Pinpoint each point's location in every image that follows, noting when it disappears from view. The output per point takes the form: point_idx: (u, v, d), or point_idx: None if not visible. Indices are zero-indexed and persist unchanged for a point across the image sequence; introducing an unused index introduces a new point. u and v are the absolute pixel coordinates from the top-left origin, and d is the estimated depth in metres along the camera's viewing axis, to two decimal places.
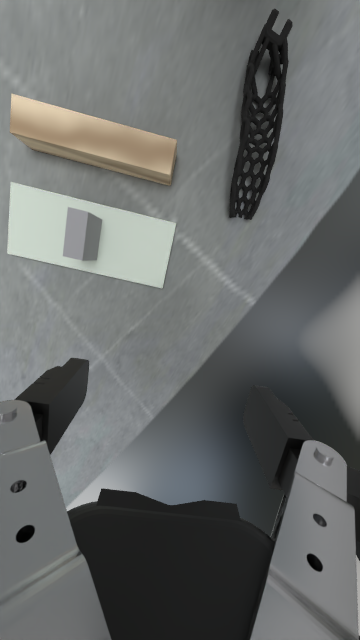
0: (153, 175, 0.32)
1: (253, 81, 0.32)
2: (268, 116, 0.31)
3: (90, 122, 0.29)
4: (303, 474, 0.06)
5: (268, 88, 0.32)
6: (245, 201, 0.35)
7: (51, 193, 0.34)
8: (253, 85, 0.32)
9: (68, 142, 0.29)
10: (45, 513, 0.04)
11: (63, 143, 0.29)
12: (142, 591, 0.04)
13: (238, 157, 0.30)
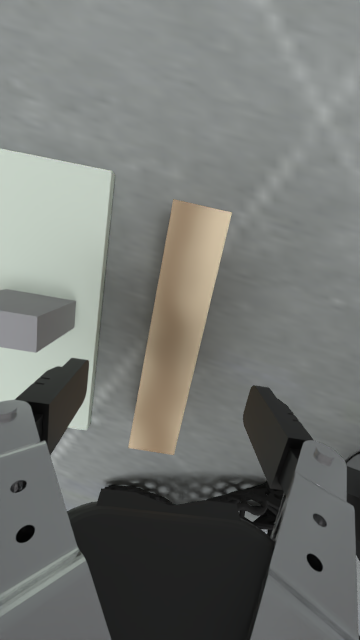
0: None
1: None
2: None
3: (192, 340, 0.18)
4: (303, 474, 0.06)
5: None
6: None
7: (102, 245, 0.20)
8: None
9: (162, 303, 0.17)
10: (45, 513, 0.04)
11: (160, 294, 0.17)
12: (142, 590, 0.04)
13: None
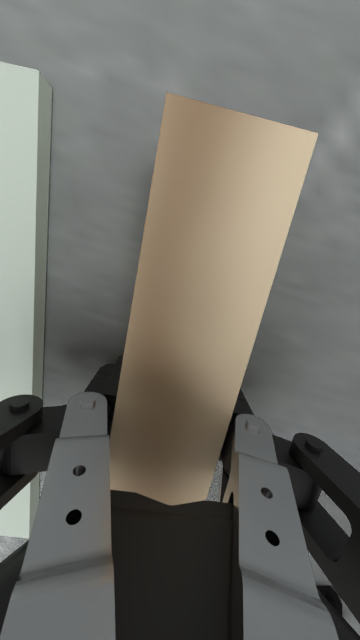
0: None
1: None
2: None
3: (207, 431, 0.08)
4: (241, 449, 0.07)
5: None
6: None
7: (31, 229, 0.10)
8: None
9: (141, 356, 0.08)
10: (93, 504, 0.04)
11: (136, 336, 0.07)
12: (142, 589, 0.04)
13: None
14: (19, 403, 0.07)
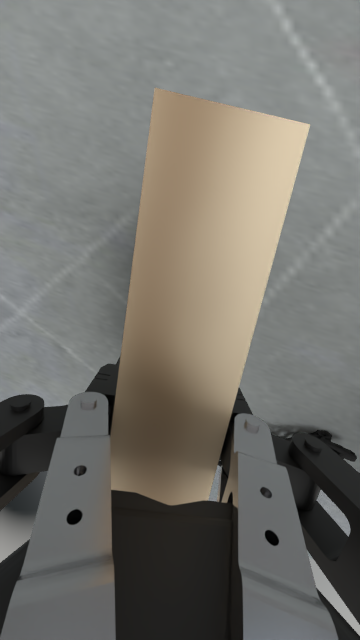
0: None
1: None
2: None
3: (208, 429, 0.08)
4: (241, 449, 0.07)
5: None
6: None
7: None
8: None
9: (139, 355, 0.08)
10: (94, 504, 0.04)
11: (132, 335, 0.07)
12: (142, 590, 0.04)
13: None
14: (21, 402, 0.07)
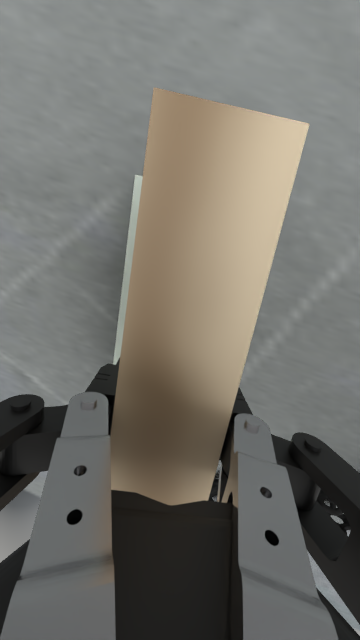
0: None
1: None
2: None
3: (208, 429, 0.08)
4: (241, 449, 0.07)
5: None
6: None
7: None
8: None
9: (138, 355, 0.08)
10: (94, 504, 0.04)
11: (132, 335, 0.07)
12: (142, 590, 0.04)
13: None
14: (21, 402, 0.07)
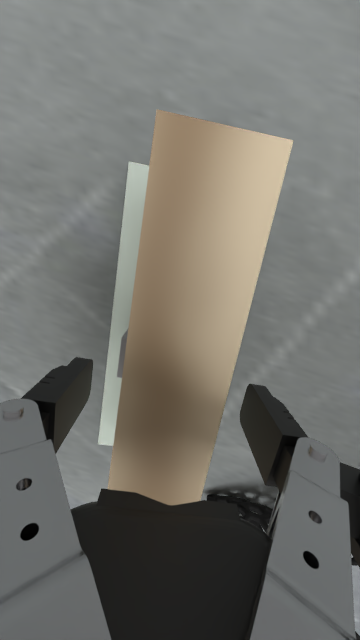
0: None
1: None
2: None
3: (205, 413, 0.09)
4: (297, 471, 0.06)
5: None
6: None
7: None
8: None
9: (142, 345, 0.08)
10: (49, 512, 0.04)
11: (136, 328, 0.08)
12: (142, 591, 0.04)
13: None
14: None
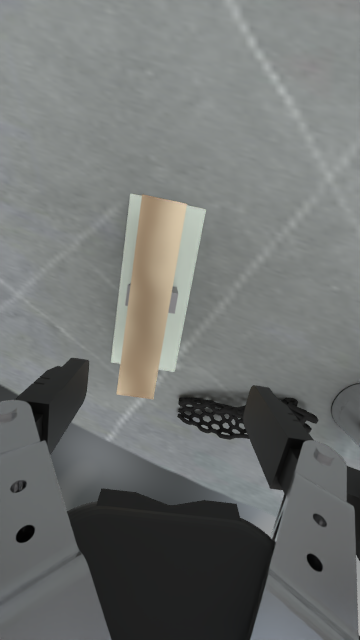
0: None
1: None
2: None
3: (162, 305, 0.23)
4: (303, 474, 0.06)
5: None
6: (193, 408, 0.40)
7: (196, 253, 0.33)
8: None
9: (137, 275, 0.22)
10: (45, 513, 0.04)
11: (135, 268, 0.22)
12: (143, 590, 0.04)
13: (223, 410, 0.36)
14: None
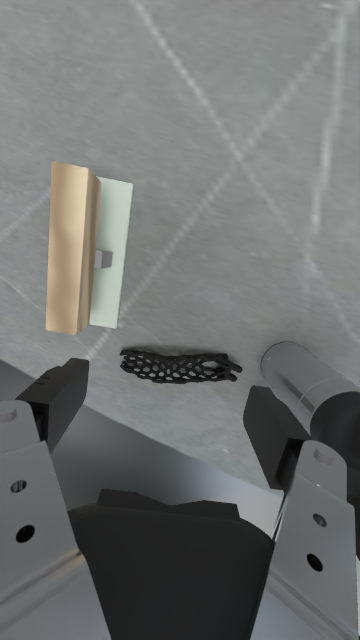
0: None
1: None
2: (187, 371, 0.44)
3: (76, 252, 0.29)
4: (303, 474, 0.06)
5: (207, 369, 0.46)
6: (135, 360, 0.45)
7: (127, 221, 0.38)
8: None
9: (54, 227, 0.28)
10: (45, 513, 0.04)
11: (52, 222, 0.28)
12: (142, 589, 0.04)
13: (155, 357, 0.41)
14: None
